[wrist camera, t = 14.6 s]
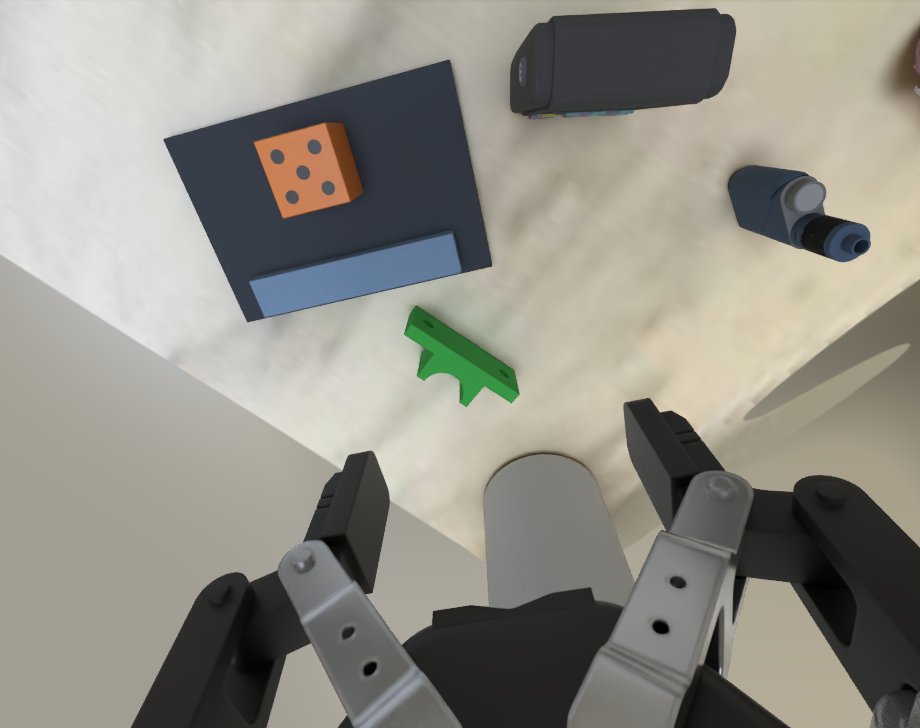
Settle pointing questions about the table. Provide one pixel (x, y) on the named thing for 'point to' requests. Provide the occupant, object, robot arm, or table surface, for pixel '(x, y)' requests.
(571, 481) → the cylinder vase
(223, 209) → the bed mat
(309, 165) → the die
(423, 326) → the pipe clamp
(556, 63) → the dark grey rounded box
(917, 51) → the purple rounded lump
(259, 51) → the table surface
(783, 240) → the vaping device
